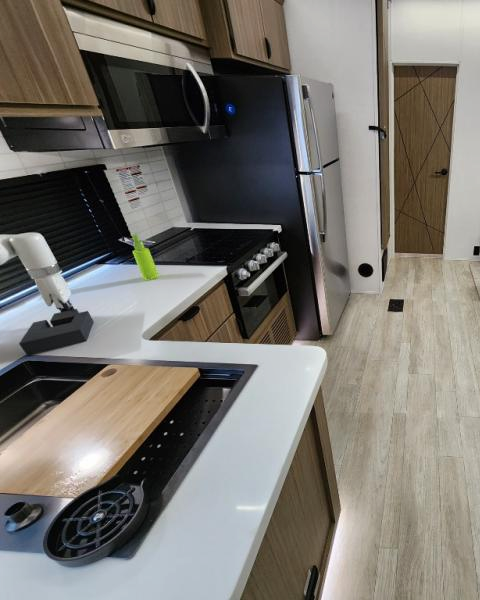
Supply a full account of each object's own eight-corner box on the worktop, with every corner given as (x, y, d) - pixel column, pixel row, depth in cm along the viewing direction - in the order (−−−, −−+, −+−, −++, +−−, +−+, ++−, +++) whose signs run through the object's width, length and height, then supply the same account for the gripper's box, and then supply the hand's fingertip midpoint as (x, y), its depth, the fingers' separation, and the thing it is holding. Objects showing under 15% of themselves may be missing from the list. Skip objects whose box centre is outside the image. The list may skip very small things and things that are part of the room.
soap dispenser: (157, 273, 154) (140, 231, 145) (160, 277, 150) (144, 234, 141) (142, 277, 151) (124, 234, 141) (145, 281, 146) (127, 237, 137)
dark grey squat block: (56, 332, 111) (49, 321, 109) (60, 324, 115) (54, 313, 113) (79, 327, 114) (73, 316, 112) (82, 319, 118) (76, 308, 116)
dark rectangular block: (27, 355, 100) (18, 343, 98) (40, 333, 110) (33, 322, 108) (86, 341, 106) (80, 329, 104) (93, 321, 117) (88, 310, 115)
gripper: (36, 265, 113) (62, 311, 122) (22, 281, 102) (52, 330, 111) (64, 261, 117) (88, 306, 126) (54, 275, 106) (81, 323, 114)
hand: (71, 317), depth 118 cm, fingers closed
